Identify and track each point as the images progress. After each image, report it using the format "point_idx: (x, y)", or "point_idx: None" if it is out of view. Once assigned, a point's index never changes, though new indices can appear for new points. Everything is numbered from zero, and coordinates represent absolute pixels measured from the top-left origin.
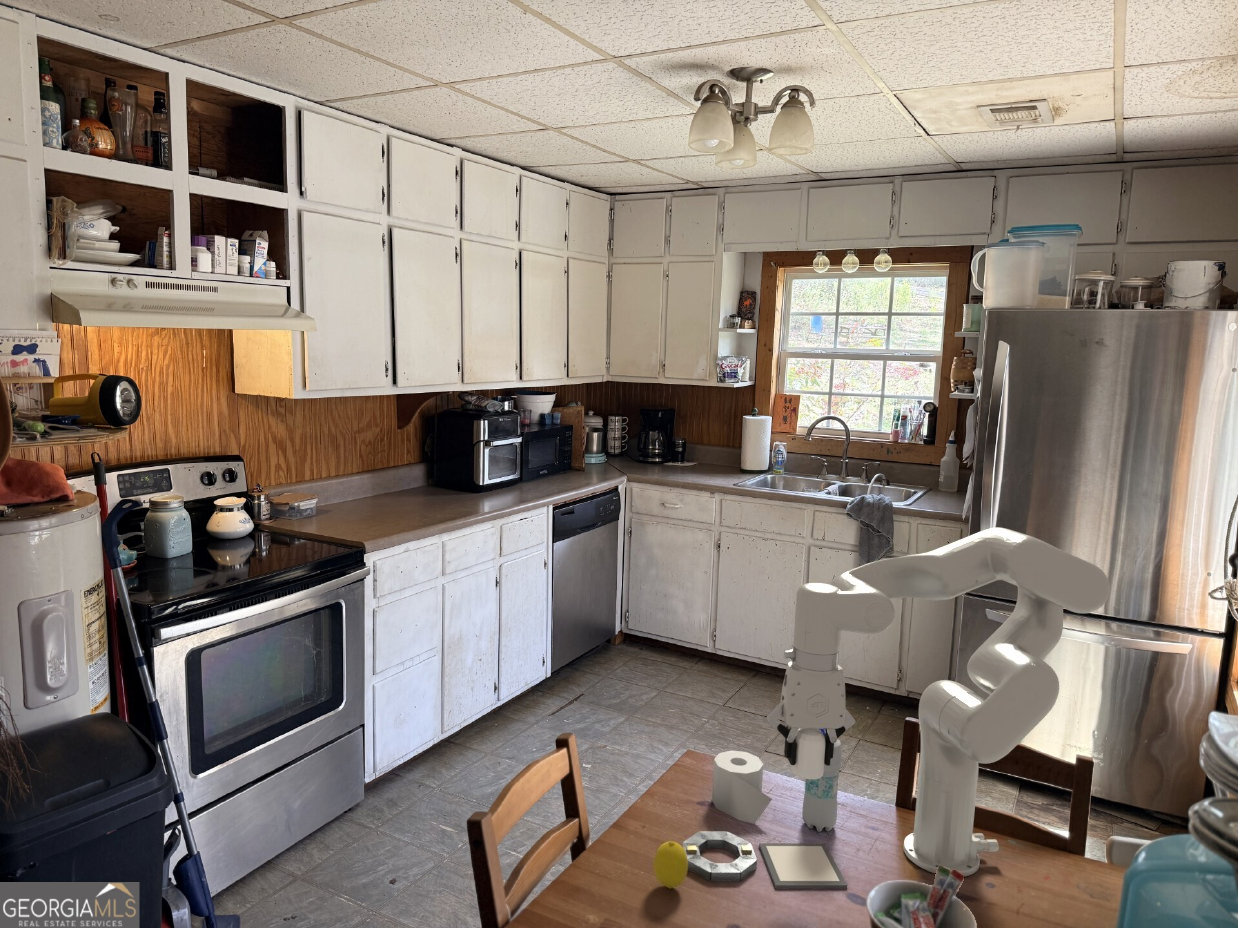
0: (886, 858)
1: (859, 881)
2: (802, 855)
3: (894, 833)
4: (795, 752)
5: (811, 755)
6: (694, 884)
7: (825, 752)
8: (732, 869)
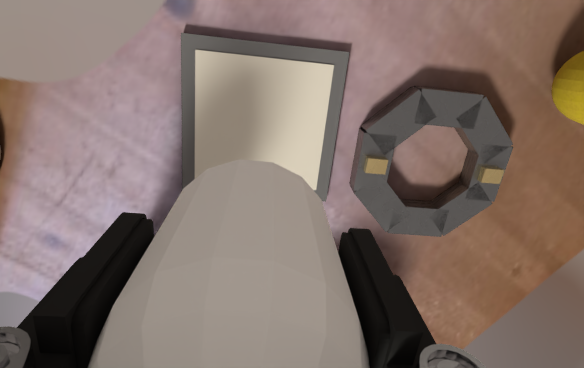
0: (53, 135)
1: (144, 56)
2: (248, 152)
3: (9, 221)
4: (367, 277)
5: (264, 225)
6: (509, 85)
7: (125, 279)
8: (433, 100)
